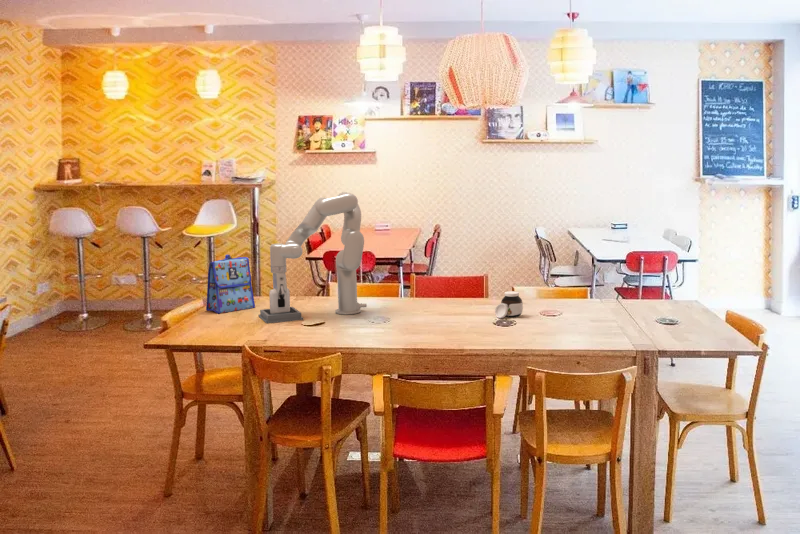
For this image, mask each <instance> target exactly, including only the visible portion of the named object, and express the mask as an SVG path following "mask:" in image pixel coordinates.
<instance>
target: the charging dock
mask: <svg viewBox="0 0 800 534" xmlns="http://www.w3.org/2000/svg"><path fill="white" fill-rule="evenodd" d="M259 310H260V311H259V314H258V318H259V319H261V320H262V321H263V322H264V323H266V324H268V325H269V324H277V323H285V322H286V323H287V322H295V321H297V322H298V321H304V317H303V316H302V312H301V311H299V310H298V309H297V308H295V307H294V306H290V312H283V313H275V314H271V313H270V308H264V309H259Z"/></svg>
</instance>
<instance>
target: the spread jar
mask: <svg viewBox="0 0 800 534" xmlns="http://www.w3.org/2000/svg"><path fill="white" fill-rule="evenodd" d="M523 305H524V304H523V300H522V298H521V296H520V292H519V291H513V290H510V291H508V290H507V291H505V292H504V297H503V298H502V299H501V301H500V303H499V304H497V305H496V307H495V310H494V313H495V316H496V317H497V318H499V319H503V318H510V319H513V318H514V319H515V318H519V317H520V316H521V315H522V314H523V309H524V308H523V307H524V306H523Z"/></svg>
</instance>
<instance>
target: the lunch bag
mask: <svg viewBox="0 0 800 534" xmlns="http://www.w3.org/2000/svg"><path fill="white" fill-rule="evenodd" d="M224 256H225V257H224V259H219V260H215V261H210V263H209V264H208V272H207V288H206V289H207V290H206V307H205V308H206V311H209V312H210V311H213V312H215V313H216V314H223V313H225V314H226V313H230V312H237V311H243V310H249V309H254V308H256V303H255V297H254V291H253V286H252V276H251V275H252V274H251V269H250V260H249V257H247V256H242V257H235V258H232V257H231V255H230V254H225V255H224Z"/></svg>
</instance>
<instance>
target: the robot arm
mask: <svg viewBox="0 0 800 534" xmlns="http://www.w3.org/2000/svg"><path fill="white" fill-rule="evenodd" d="M340 214H343V225H342V230H341V236H340V240H341V241H340V242H341V244H342V245H343V246H344V247H343V249H342V250H340V251H339V252H338V253H337V254H336V257H335V268H336V274H337V275H336V276H337V300H338V301H337V303H338V304H337V306H338V307H337V309H335V311H334V312H335V314H338V315H355V314H356V315H357V314H359V313H361V312H362V311H361V308H364V309H365V308H367V307H368V305H367V303H359V302H358V285H357V284H358V283H357V282H358V281H357V279H358V278H357V277H358V276H357V269H359V267H360V265H361V262H362V258H363V251H364V245H365V237H364V235H363V233H362V232H361V224H362V211H361V207H360V205H359V201H358V197H357V196H356V195H355V194H353V193H351V192H347V191H342V192H340V193H339V194H337V195H336V196H333V197H329V198H328V197H319V198H318V199H317V200H316V201H315V202H314V203H313V205H312V206H311V208H310V209H309V211H308V213H307V214H306V216H305V217H304V218H303V219H302V221H301V222H300V223H299V224H298V226H297V227H296V228H295V229H294V230H293V232H292V233H291V234H290V235H289V237H288V239H287V240H286V242H285V243H271V245H270V246H269V255H270V256H269V258H270V273H271V274H272V288H273V289H274V288H275V289H276V291H277V293H278V298H279V299H278V307H285V297H284V290H285V293H286V292H287V288H288V286H287V285H288V283H287V275H286V273H287V259H293V260H294V259H295V260H296V259H299V258H300V257H302V255H303V247H302V246H303V244H304V243H305V241H307V239H308V238H309V237H311V236H312V235H314V234H315V233H316V232H318V230H319V229H320V227H321V226H322V224H323V222H325V220H326V218H327V217H331V216H335V215H340ZM280 291H281V293H279V292H280Z"/></svg>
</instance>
